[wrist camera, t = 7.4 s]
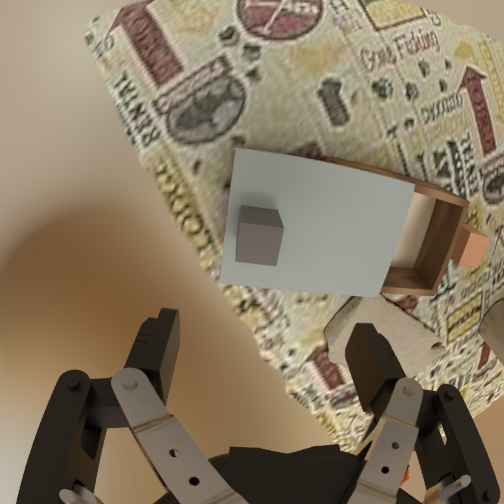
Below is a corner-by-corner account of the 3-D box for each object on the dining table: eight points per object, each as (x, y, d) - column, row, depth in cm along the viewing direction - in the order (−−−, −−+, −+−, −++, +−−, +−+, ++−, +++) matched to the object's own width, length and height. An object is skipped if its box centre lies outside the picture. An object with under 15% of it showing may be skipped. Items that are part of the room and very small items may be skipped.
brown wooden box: (440, 186, 29) (469, 201, 24) (412, 271, 35) (433, 296, 29) (324, 155, 28) (342, 165, 23) (301, 258, 33) (312, 287, 28)
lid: (411, 182, 23) (440, 197, 19) (374, 293, 28) (392, 321, 24) (236, 147, 22) (233, 154, 17) (220, 278, 27) (216, 309, 23)
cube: (470, 225, 32) (489, 238, 28) (460, 253, 34) (477, 268, 30) (451, 219, 31) (470, 232, 27) (440, 249, 33) (458, 265, 29)
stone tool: (443, 337, 42) (366, 276, 35) (453, 351, 39) (378, 294, 31) (393, 381, 47) (301, 340, 40) (400, 396, 44) (306, 360, 36)
